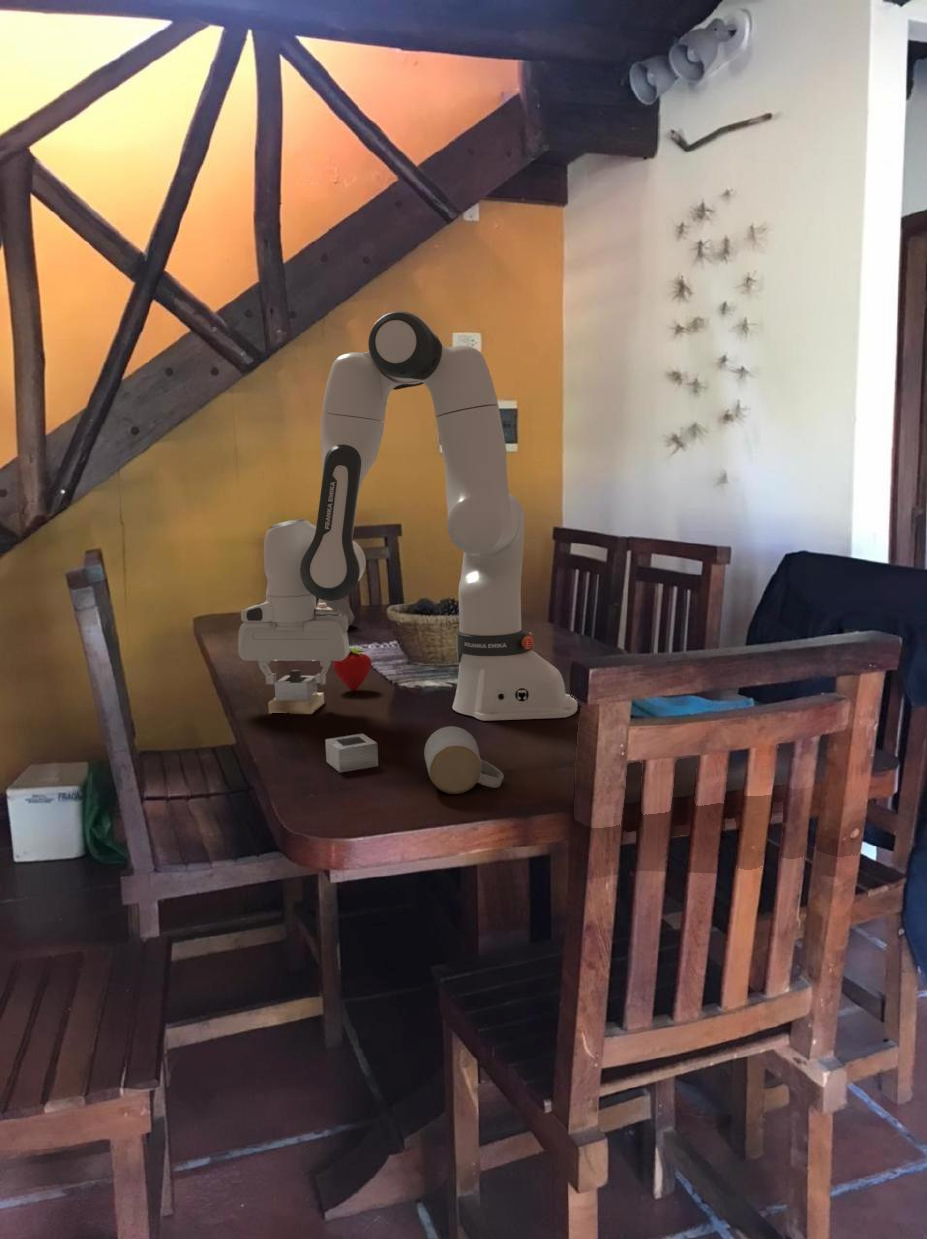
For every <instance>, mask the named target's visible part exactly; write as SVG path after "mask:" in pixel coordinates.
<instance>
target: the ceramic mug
mask: <svg viewBox="0 0 927 1239" xmlns="http://www.w3.org/2000/svg"><path fill="white" fill-rule="evenodd" d="M478 746H479V745H478V743H477V740H476V739H475V737H474V736H473V735H472V734H471V733H470V732H469V731H468V730H465V729H464V728H462V727H458V726H454V725H453V726H451V725H450V726H444V727H440V728H438V729H437V730H436V731H434V732H432V734H431V735H430V736H429V737H428V739H427V740H426V743H425V746H424V750H423V752H424V756H423V757H424V760H425V764H426V768H427V773H428V776H429V778H430V780H431V782H432V783H433V785H434V786H435V787H436V788H437V789H438V790H439V791H442V792H443V793H446V794H450V795H459V794H464V793H466V792H468V791H470V790H471V789H472V788H474V787H475V785H476V784H480V785H481V786H485V787H487V788H493V789H496V788H500V787H501V785H502V782H503V780H504V773H503V772H502V771H501V770H500V769H499V768H498V767H496V766H494V765H493V764H491V763H489V762H487V761H486V760H483V759H481V757H480V756H481V755H480V752H479V750H480V749H479V747H478Z"/></svg>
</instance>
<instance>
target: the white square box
mask: <svg viewBox="0 0 927 1239" xmlns="http://www.w3.org/2000/svg"><path fill="white" fill-rule="evenodd" d="M324 740H325V741H324V742H325V756H326V758H325V759H326V763H327V764H329V766H331V767H332V768H333V769H335V770H336V771H337V772H338V773H340V774H341V773H344V772H345V773H346V772H352V771H358V770H365V769H368V768H375V767H379V756H378V755H379V754H378V753H379V752H378V750H379V749H378V743H377V741H375V740H373V739H372V738H370V737H368V735H365V734H364V733H357V734H351V735H345V736H338V737H333V738H326V739H324Z"/></svg>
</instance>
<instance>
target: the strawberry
mask: <svg viewBox="0 0 927 1239" xmlns="http://www.w3.org/2000/svg"><path fill="white" fill-rule="evenodd" d="M351 642H352V643H353V646H354V647H353V648H351V649H349V654H348V656H347V657H346V658H345V659H344V660H342V661H333V663H332V667H333V670H334V673H335V674H336V676H338V678H339V679H340V681H341V682H342V683H343V684H344V685H346V687H347V688H348V690H350V691H353V692H355V691H357V690H358V689H359V688H360V686H361V685H362V684H363V682H364V681H365V680H366V679H367V676H368V675H369V673H370V670H371V668H372V660H371V657H370V656H368V654H366V652H367V650H364V649H362V650H361V649H356V644H355V643H354V640H353V639H352V640H351Z"/></svg>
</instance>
